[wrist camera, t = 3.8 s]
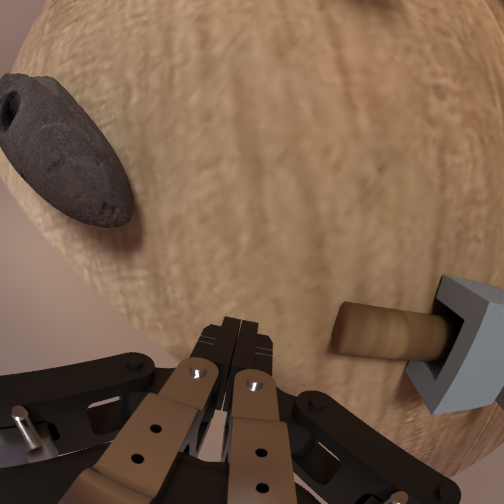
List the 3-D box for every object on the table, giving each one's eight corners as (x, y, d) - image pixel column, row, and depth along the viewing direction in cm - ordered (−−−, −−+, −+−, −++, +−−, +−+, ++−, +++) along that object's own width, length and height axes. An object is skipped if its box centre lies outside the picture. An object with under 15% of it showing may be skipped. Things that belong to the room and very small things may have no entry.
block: (498, 287, 15) (538, 311, 10) (463, 370, 17) (491, 404, 11) (443, 274, 15) (489, 302, 10) (404, 370, 17) (431, 415, 12)
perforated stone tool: (172, 190, 16) (108, 191, 9) (122, 248, 17) (53, 278, 10) (66, 72, 14) (9, 49, 8) (32, 122, 15) (-27, 114, 9)
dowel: (443, 307, 16) (460, 337, 13) (423, 339, 17) (436, 370, 14) (346, 291, 16) (355, 326, 13) (330, 328, 17) (334, 364, 15)
